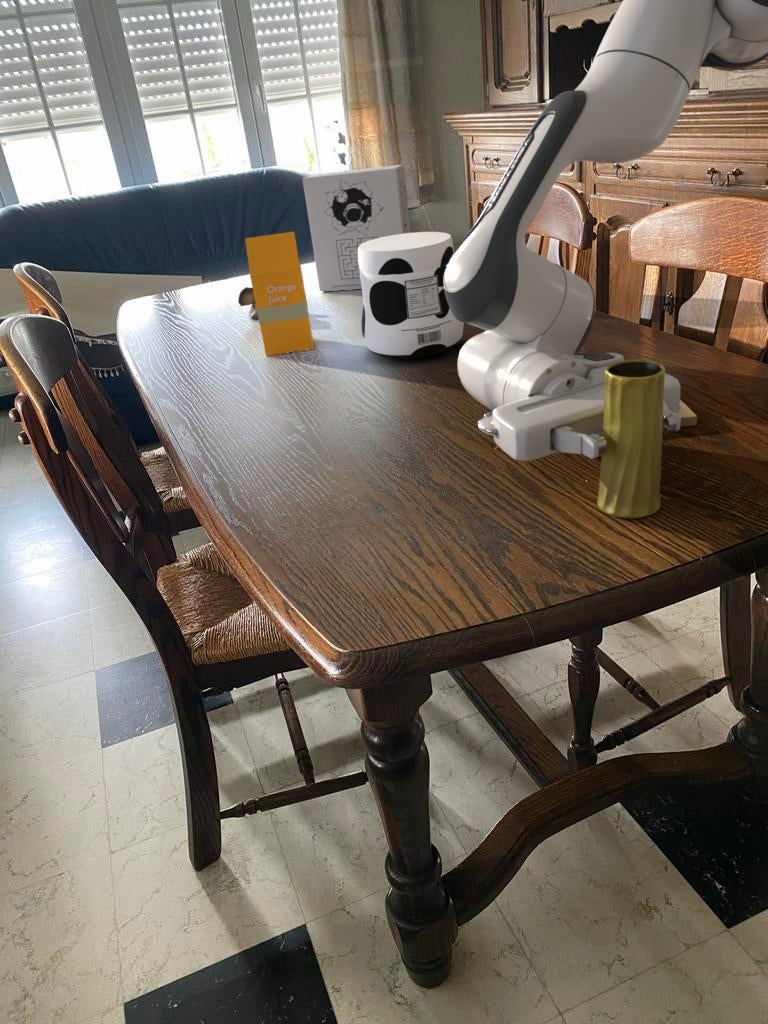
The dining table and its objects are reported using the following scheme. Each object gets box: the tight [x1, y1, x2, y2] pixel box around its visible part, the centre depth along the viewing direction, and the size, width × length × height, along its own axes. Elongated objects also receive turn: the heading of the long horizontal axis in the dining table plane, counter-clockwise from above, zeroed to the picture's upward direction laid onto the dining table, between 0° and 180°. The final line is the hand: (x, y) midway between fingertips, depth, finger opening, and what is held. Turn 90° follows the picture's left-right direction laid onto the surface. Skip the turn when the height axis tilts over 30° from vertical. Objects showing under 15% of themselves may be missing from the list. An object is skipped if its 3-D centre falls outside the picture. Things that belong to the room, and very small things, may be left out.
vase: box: [596, 358, 666, 520], centre depth 72 cm, size 6×6×14 cm
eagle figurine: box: [237, 286, 259, 322], centre depth 163 cm, size 8×7×9 cm
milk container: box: [358, 231, 465, 360], centre depth 124 cm, size 17×17×18 cm
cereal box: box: [302, 164, 411, 292], centre depth 171 cm, size 22×8×25 cm, turn 77°
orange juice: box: [244, 231, 314, 357], centre depth 134 cm, size 8×9×20 cm
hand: (638, 437), depth 71 cm, fingers open, 7 cm apart
